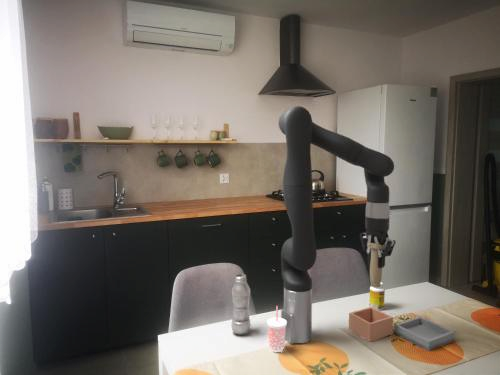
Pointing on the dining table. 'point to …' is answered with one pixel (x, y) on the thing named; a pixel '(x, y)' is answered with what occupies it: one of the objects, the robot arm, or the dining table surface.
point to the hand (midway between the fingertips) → (376, 265)
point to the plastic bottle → (240, 305)
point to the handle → (375, 265)
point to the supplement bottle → (377, 297)
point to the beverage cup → (276, 332)
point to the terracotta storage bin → (370, 323)
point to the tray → (424, 333)
